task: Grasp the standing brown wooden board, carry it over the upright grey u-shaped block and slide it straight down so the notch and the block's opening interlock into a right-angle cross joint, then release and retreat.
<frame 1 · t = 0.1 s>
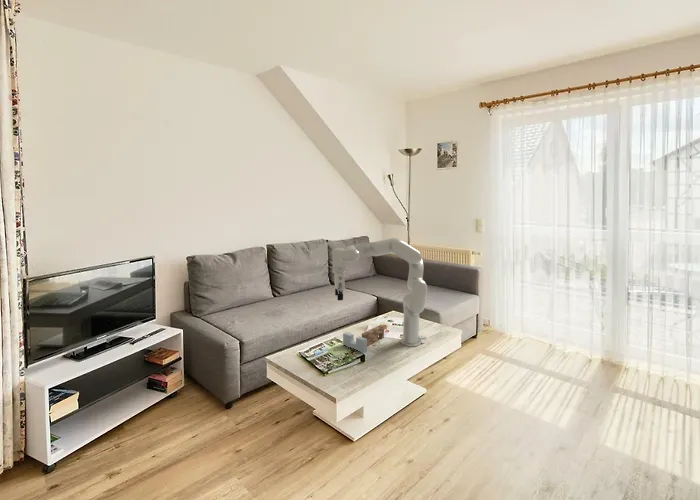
hand: (339, 297, 230), 31 cm above the table, fingers open, 9 cm apart
grey u-shaped block: (354, 348, 233), on the table
brown wooden board: (373, 341, 243), on the table
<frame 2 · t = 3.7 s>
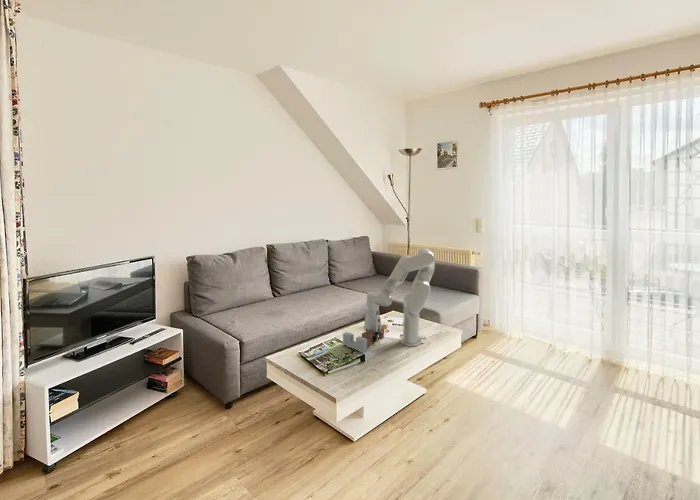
hand: (372, 340, 242), 1 cm above the table, fingers closed on brown wooden board, 3 cm apart
brown wooden board: (373, 341, 243), on the table, touching gripper
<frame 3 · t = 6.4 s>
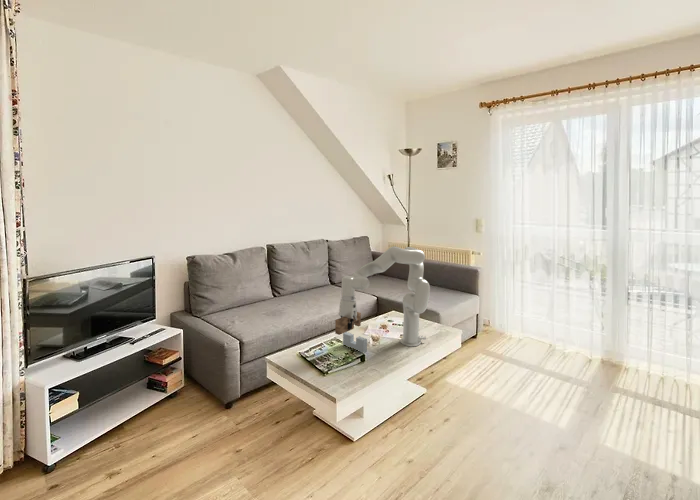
hand: (347, 328, 225), 15 cm above the table, fingers closed on brown wooden board, 3 cm apart
brown wooden board: (348, 329, 226), point 14 cm above the table, touching gripper
when the fingers open (3 cm above the table, at t = 9.2 s): brown wooden board drops 1 cm, on the table.
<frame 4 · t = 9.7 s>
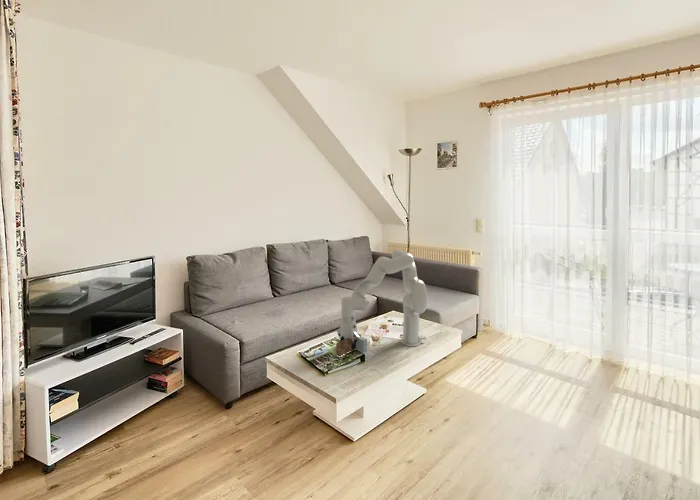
hand: (347, 346, 227), 4 cm above the table, fingers open, 8 cm apart
brown wooden board: (349, 351, 229), on the table
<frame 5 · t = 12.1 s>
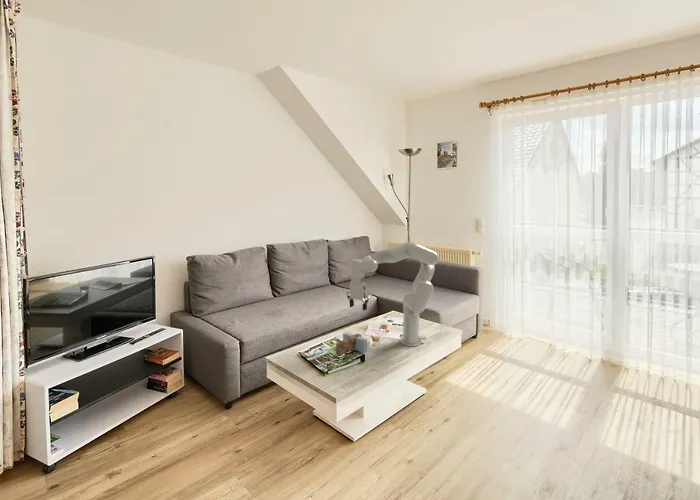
hand: (358, 308, 231), 24 cm above the table, fingers open, 9 cm apart
nothing on the table moved.
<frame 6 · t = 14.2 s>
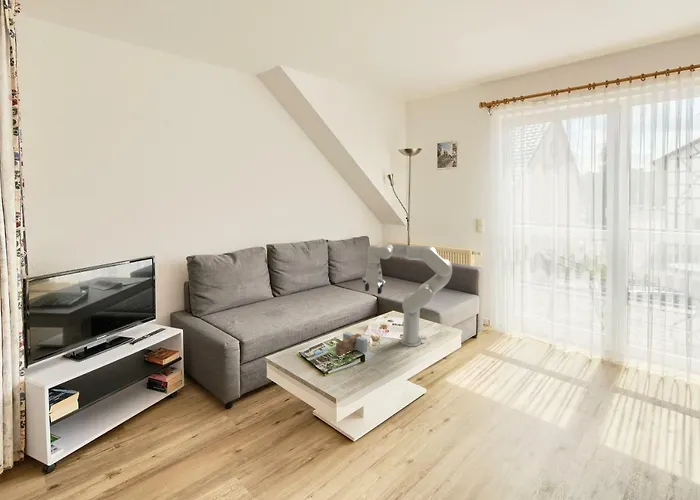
hand: (373, 292, 243), 30 cm above the table, fingers open, 9 cm apart
nothing on the table moved.
at the end: brown wooden board 0.2 cm from the target spot on the table beside the grey u-shaped block, on the table; brown wooden board tilted 0°; the gripper is holding nothing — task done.
